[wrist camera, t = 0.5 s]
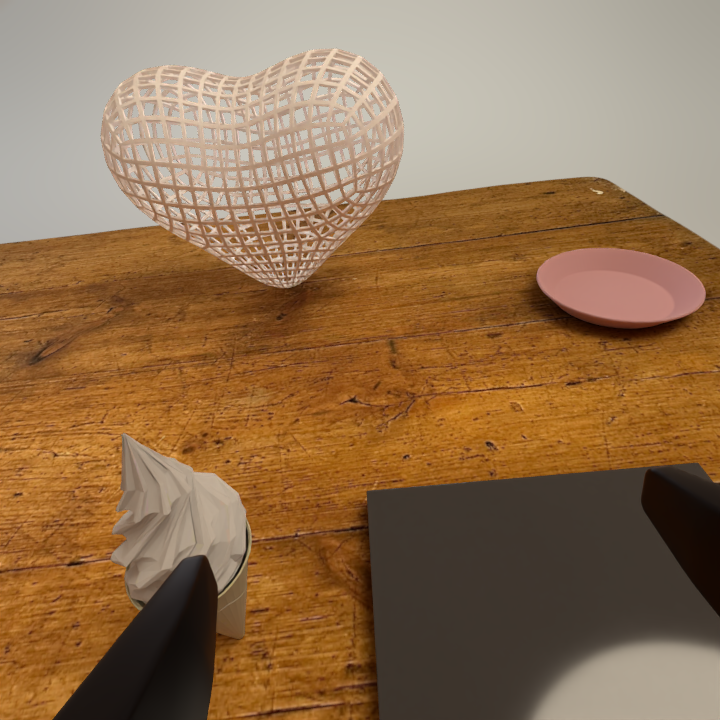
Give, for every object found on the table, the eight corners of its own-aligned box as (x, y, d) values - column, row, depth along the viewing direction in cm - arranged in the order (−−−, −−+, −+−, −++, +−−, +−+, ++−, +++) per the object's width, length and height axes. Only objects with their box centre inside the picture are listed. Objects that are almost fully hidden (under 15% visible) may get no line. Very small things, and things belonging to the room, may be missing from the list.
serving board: (914, 781, 17) (942, 773, 16) (386, 816, 18) (384, 809, 17) (689, 477, 28) (698, 462, 27) (368, 504, 29) (366, 490, 28)
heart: (144, 329, 48) (30, 87, 34) (194, 262, 60) (125, 64, 46) (410, 317, 45) (403, 48, 31) (406, 250, 57) (400, 34, 43)
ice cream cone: (308, 627, 23) (231, 424, 14) (227, 719, 21) (64, 542, 11) (250, 566, 26) (154, 364, 17) (171, 640, 23) (6, 447, 14)
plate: (726, 342, 38) (736, 322, 36) (545, 339, 40) (549, 320, 39) (665, 263, 49) (671, 246, 47) (525, 265, 51) (528, 248, 50)
